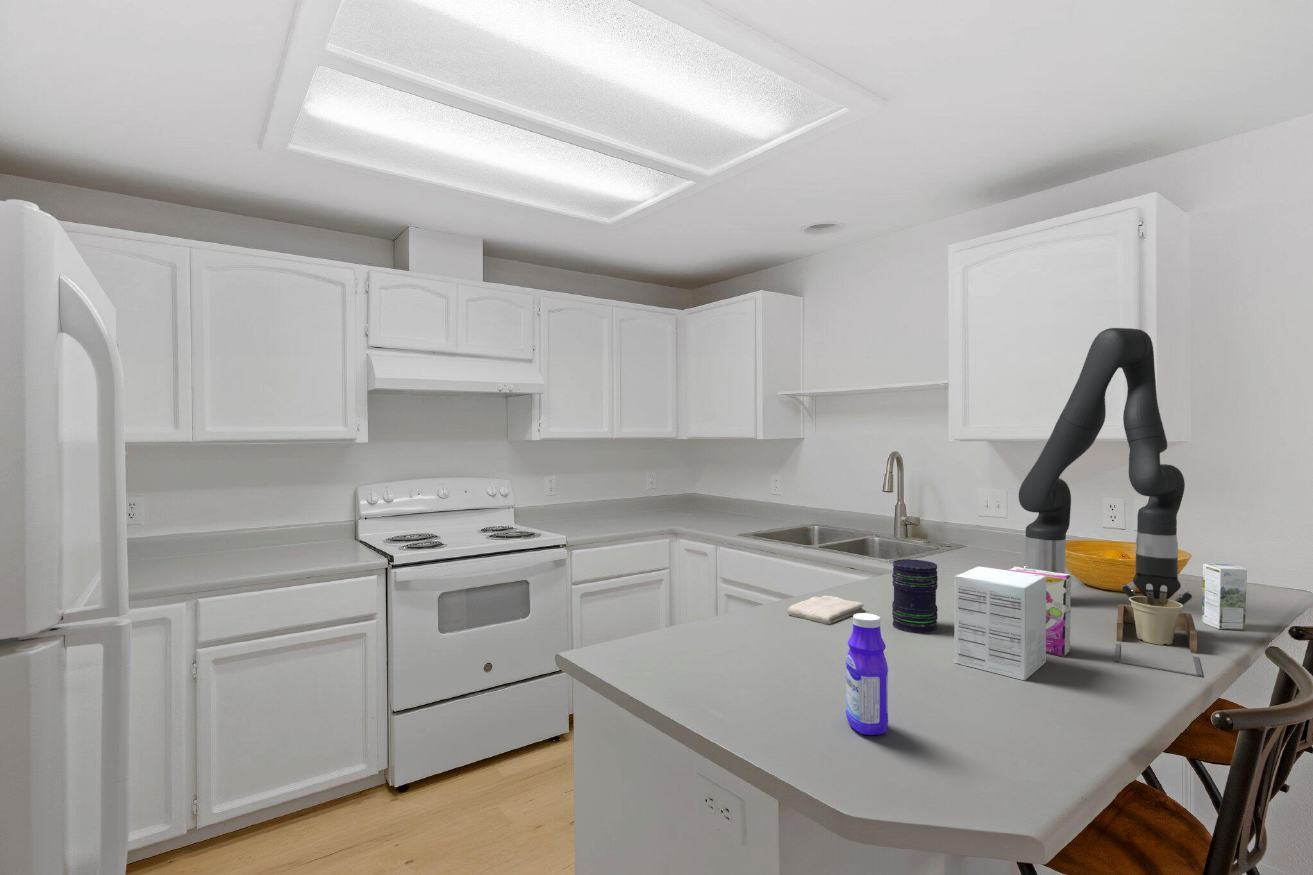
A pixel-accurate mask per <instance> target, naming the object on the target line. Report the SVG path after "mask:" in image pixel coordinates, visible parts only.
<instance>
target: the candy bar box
mask: <svg viewBox="0 0 1313 875" xmlns="http://www.w3.org/2000/svg"><path fill="white" fill-rule="evenodd" d="M1006 570H1007V571H1015V572H1022V573H1029V574H1036V575H1042V576H1046V654H1048V655H1054V656H1058V657H1063V658H1065V657H1066V655H1067V654H1068V653H1069V652H1071V651H1070V650H1071V649H1070V648H1071V606H1072V605H1071V604H1072V602H1071V598H1072V574H1068V573H1066V574H1063V573H1056V572H1049V571H1042V570H1035V569H1029V568H1024V567H1021V566H1012V567H1010V568H1008V569H1006Z"/></svg>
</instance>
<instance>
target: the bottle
mask: <svg viewBox="0 0 1313 875" xmlns="http://www.w3.org/2000/svg"><path fill="white" fill-rule="evenodd" d="M847 645H848V647H849V650H848V651H847V654H846V657H845V665H846V667H845V669H846V670H845V673H846V674H845V678H846V679H845V680H846V681H845V716H846V719H847V722H848V724H849V726H850V727H851V728H852V729H853V730H854V731H856V732H857V733H859V734H861V735H869V736H870V735H871V736H873V735H874V736H875V735H876V736H877V735H882V734H884V733H886V732H887V730H888V727H889V697H888V696H889V690H888V689H889V687H888V685H889V684H888V682H889V681H888V680H889V679H888V675H889V668H888V667H889V666H888V661H887V659H886V655H885V653H884V652H885V650H886V646H887V645H886V642H885V641H884V640H883V638H882V633H881V617H880V616H878V615H876V614H873V613H867V612H860V613H857V614H854V615H852V631H851V634H850V637H849V639H848V640H847Z"/></svg>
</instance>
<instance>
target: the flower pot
mask: <svg viewBox="0 0 1313 875" xmlns="http://www.w3.org/2000/svg"><path fill="white" fill-rule="evenodd" d="M1162 600H1163V599H1162ZM1128 601H1130V604H1131V606H1132V607H1133V611H1134V618H1135V630H1136V632H1135V633H1136V638H1137V639H1138V640H1142V641H1143V642H1145V643H1147V644H1154V645H1158V646H1161V645H1165V644H1166V645H1168V646H1169V645H1172V644H1173V642H1174V638H1175V633H1176V632H1175V631H1176V630H1175V628H1176V623H1177V619H1178V614H1180V612H1182V611H1181V610H1182V608H1184V605H1182V604H1181V603H1178V602H1175V600H1171V599H1166V605H1158V603H1159V599H1157V598H1154V605H1151V604H1148V603H1147V597H1146V596H1144V595H1137V596H1134V597H1130V598H1129V597H1128Z"/></svg>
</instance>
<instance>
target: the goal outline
mask: <svg viewBox="0 0 1313 875" xmlns="http://www.w3.org/2000/svg"><path fill="white" fill-rule="evenodd" d="M1120 655H1121V644H1120V643H1115V650H1114V658H1113V662H1115V663H1119V664H1123V665H1124V664H1125V665H1131V666H1137V667H1142V668H1147V669H1154V670H1158V671H1165V672H1171V673H1176V674H1182V675H1188V676H1191V677H1192V676H1193V677H1200V678H1204V674H1203V671H1202V667H1201V664H1200V663H1201V662H1200V658H1199V656H1196V655H1193V656H1192V658H1193V662H1194V666H1195V671H1196V673H1191V672H1187V671H1181V670H1174V669H1170V668H1169V669H1168V668H1165V667H1163V668H1162V667H1159V666H1158V667H1157V666H1153V665H1152V666H1151V665H1147V664H1140V663H1136V662H1135V663H1134V662H1128V661H1124V660H1123V661H1122V660H1120V657H1121V656H1120Z"/></svg>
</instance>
